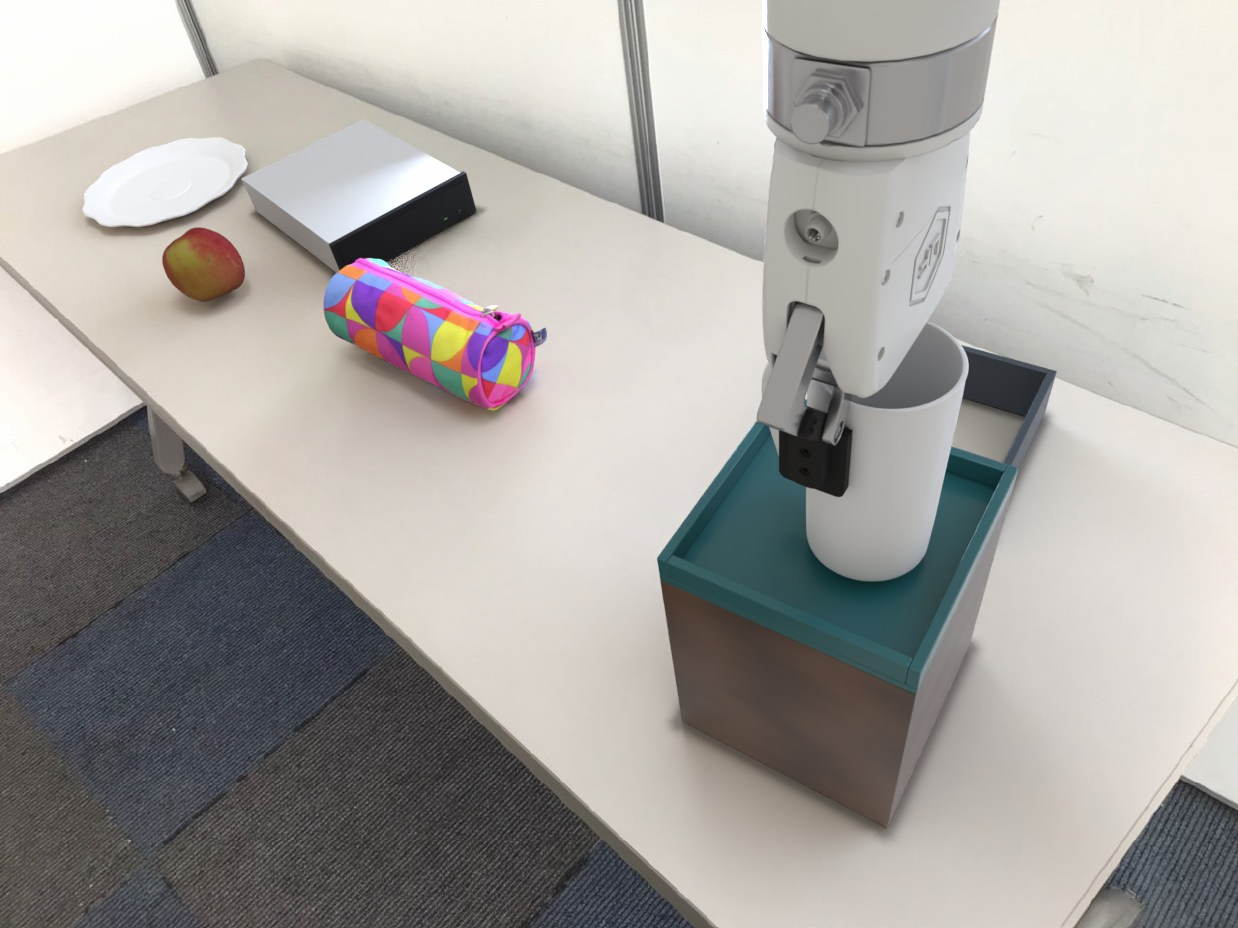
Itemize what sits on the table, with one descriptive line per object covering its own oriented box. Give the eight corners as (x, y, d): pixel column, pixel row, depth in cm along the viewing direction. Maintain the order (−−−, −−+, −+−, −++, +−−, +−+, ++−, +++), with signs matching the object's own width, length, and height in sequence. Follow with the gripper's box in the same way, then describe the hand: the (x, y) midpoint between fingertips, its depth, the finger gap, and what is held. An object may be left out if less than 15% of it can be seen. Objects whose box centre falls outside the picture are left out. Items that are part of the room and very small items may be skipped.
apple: (243, 265, 107) (212, 203, 101) (263, 299, 102) (232, 236, 96) (177, 292, 105) (142, 231, 99) (195, 328, 100) (159, 265, 94)
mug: (958, 527, 49) (998, 348, 41) (887, 610, 46) (914, 435, 38) (799, 446, 55) (805, 272, 46) (726, 515, 52) (718, 343, 43)
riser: (969, 646, 64) (1012, 491, 52) (887, 828, 56) (916, 695, 44) (778, 567, 70) (778, 413, 58) (681, 721, 62) (659, 580, 51)
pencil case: (561, 367, 88) (544, 289, 82) (499, 431, 83) (475, 354, 77) (396, 306, 98) (369, 232, 92) (331, 359, 93) (298, 285, 87)
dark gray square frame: (1043, 416, 77) (1057, 370, 73) (985, 539, 69) (997, 494, 66) (877, 367, 83) (881, 323, 79) (807, 474, 76) (809, 431, 72)
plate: (60, 208, 122) (53, 196, 121) (196, 135, 131) (191, 123, 130) (141, 255, 111) (134, 243, 110) (283, 172, 121) (278, 160, 120)
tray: (1012, 491, 52) (1019, 467, 50) (916, 695, 44) (920, 673, 43) (778, 413, 58) (778, 389, 57) (659, 580, 51) (656, 557, 49)
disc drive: (347, 284, 102) (331, 246, 98) (255, 213, 115) (238, 177, 111) (477, 212, 109) (467, 173, 105) (376, 152, 121) (364, 116, 118)
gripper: (878, 223, 26) (845, 593, 39) (1061, -21, 35) (985, 344, 48) (649, 173, 30) (689, 528, 43) (870, -39, 39) (847, 307, 52)
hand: (847, 428), depth 45 cm, fingers closed on mug, 6 cm apart
